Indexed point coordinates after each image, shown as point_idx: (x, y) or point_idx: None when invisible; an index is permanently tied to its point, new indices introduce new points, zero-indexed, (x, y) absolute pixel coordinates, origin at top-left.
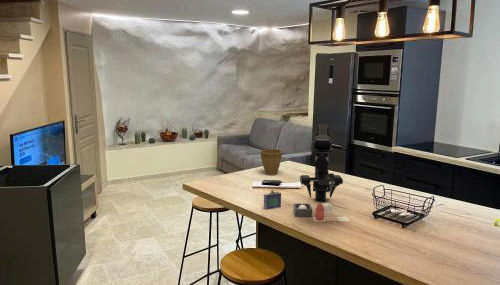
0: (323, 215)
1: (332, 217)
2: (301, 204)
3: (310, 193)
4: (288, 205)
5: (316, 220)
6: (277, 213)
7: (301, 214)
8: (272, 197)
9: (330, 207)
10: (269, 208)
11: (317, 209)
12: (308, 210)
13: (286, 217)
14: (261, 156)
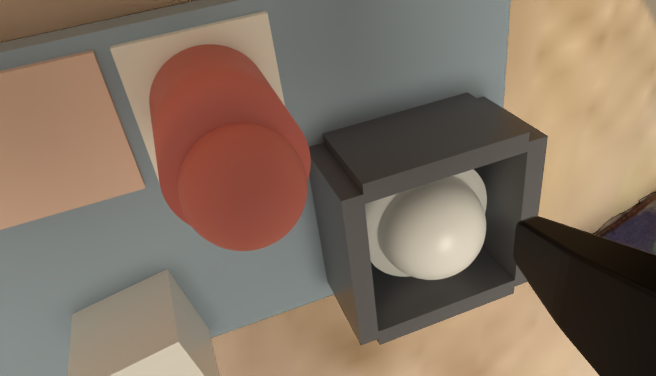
0: (161, 100)
1: (32, 197)
2: (449, 301)
3: (626, 268)
4: (474, 357)
5: (250, 39)
6: (586, 185)
7: (441, 120)
8: None
9: (87, 368)
10: (651, 222)
11: (283, 124)
12: (385, 168)
13: (535, 120)
14: None
